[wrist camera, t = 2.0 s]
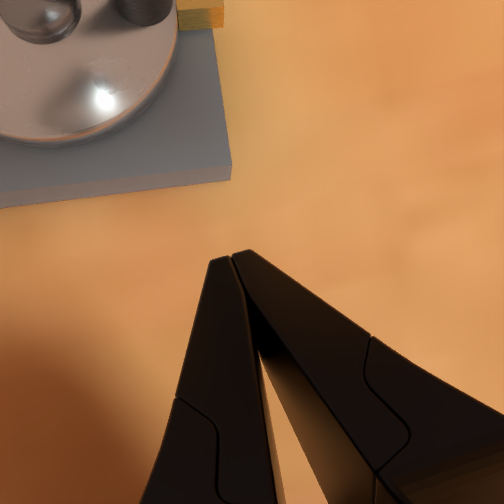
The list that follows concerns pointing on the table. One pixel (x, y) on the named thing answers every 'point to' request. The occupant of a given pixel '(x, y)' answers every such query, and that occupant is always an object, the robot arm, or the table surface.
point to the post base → (136, 142)
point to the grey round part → (88, 64)
